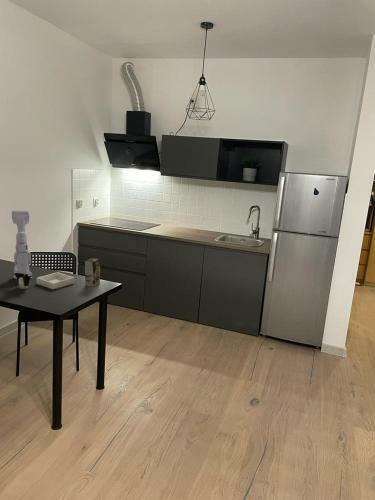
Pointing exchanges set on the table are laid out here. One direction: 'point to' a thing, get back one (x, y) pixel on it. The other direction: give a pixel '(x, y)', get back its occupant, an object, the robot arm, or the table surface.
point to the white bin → (55, 280)
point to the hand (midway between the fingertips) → (23, 285)
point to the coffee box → (92, 272)
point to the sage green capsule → (22, 283)
